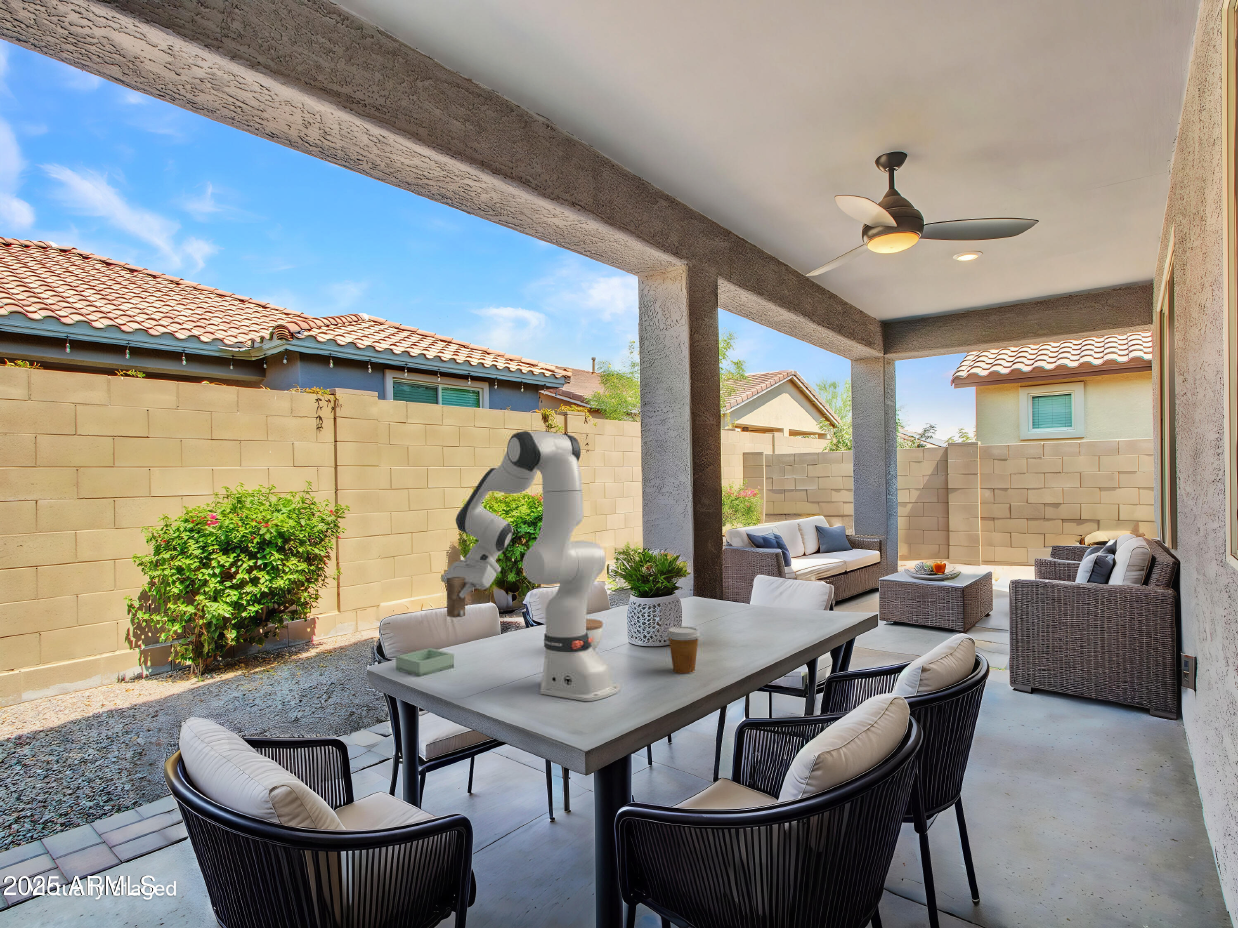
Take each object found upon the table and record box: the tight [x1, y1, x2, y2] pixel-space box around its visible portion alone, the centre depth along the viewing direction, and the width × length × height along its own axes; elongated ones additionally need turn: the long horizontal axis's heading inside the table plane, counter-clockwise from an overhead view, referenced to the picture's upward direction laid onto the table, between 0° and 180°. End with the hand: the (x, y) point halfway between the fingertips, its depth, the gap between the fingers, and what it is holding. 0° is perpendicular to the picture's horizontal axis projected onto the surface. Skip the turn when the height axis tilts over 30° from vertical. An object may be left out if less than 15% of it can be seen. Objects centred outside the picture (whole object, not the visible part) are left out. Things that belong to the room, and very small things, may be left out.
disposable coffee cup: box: [666, 626, 701, 674], centre depth 190 cm, size 10×10×12 cm
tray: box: [395, 647, 455, 677], centre depth 196 cm, size 12×12×4 cm
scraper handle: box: [446, 577, 466, 619], centre depth 205 cm, size 6×4×12 cm, turn 51°
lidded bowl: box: [586, 618, 604, 651], centre depth 216 cm, size 13×13×11 cm
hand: (454, 595), depth 205 cm, fingers closed on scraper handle, 4 cm apart
